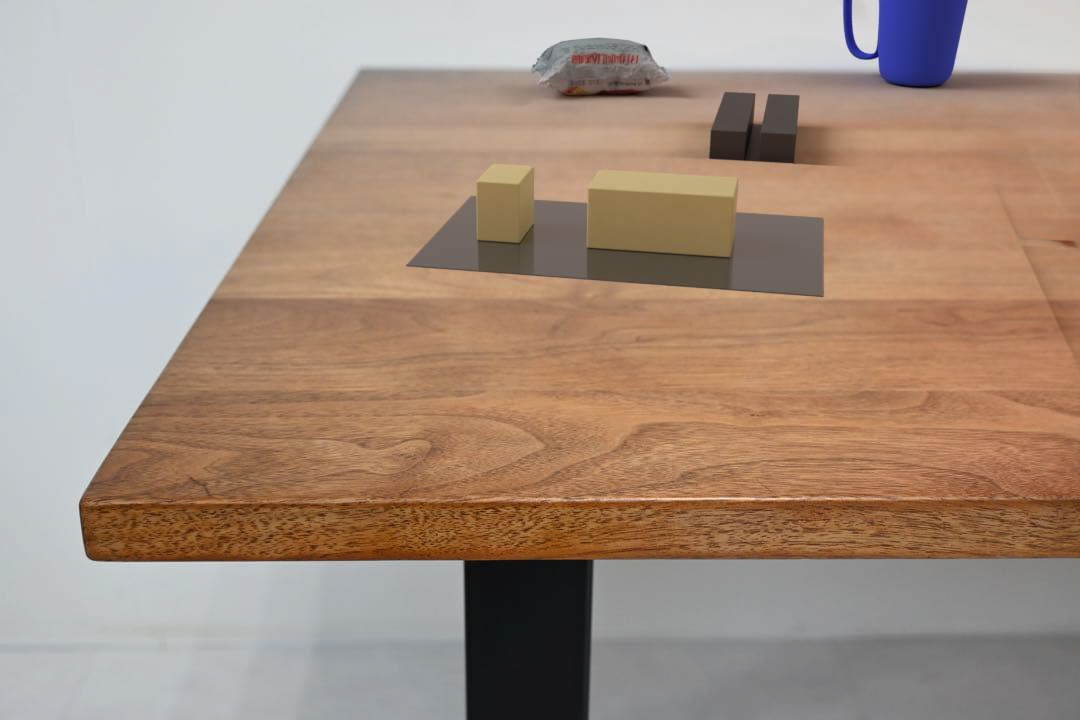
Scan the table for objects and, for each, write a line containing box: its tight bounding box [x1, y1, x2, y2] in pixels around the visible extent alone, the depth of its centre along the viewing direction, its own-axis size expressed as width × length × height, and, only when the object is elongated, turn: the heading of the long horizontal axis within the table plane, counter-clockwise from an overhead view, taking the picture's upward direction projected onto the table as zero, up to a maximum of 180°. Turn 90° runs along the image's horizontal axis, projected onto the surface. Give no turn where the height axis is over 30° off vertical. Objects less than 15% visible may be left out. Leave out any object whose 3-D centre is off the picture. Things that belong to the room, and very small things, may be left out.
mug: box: [842, 0, 969, 87], centre depth 121 cm, size 8×12×10 cm
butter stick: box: [586, 169, 740, 258], centre depth 71 cm, size 8×4×4 cm, turn 78°
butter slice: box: [475, 163, 535, 243], centre depth 72 cm, size 2×4×4 cm, turn 168°
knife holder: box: [708, 91, 801, 165], centre depth 96 cm, size 6×14×3 cm, turn 168°
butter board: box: [405, 195, 824, 298], centre depth 72 cm, size 22×14×1 cm, turn 78°
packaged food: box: [530, 37, 673, 96], centre depth 114 cm, size 9×12×5 cm
